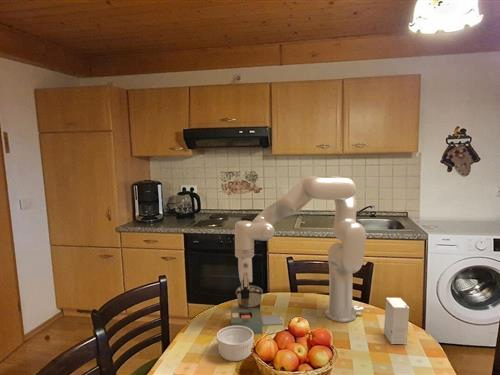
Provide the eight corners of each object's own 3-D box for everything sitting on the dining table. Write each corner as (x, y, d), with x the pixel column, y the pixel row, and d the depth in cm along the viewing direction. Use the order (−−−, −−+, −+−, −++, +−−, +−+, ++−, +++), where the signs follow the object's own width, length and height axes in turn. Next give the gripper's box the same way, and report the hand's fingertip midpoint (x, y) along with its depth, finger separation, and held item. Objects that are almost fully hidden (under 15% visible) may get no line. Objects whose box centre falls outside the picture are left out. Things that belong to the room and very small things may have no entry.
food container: (264, 306, 164) (263, 285, 162) (263, 312, 157) (263, 290, 156) (237, 305, 165) (237, 284, 164) (235, 311, 159) (235, 290, 158)
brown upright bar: (248, 305, 146) (248, 274, 144) (248, 309, 143) (248, 277, 141) (240, 306, 145) (240, 275, 144) (241, 309, 142) (241, 277, 141)
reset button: (250, 318, 147) (250, 314, 147) (251, 322, 143) (250, 319, 143) (241, 318, 146) (240, 315, 146) (241, 323, 143) (241, 319, 143)
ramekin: (212, 347, 130) (211, 329, 130) (245, 339, 135) (245, 322, 135) (224, 367, 118) (223, 348, 117) (260, 358, 123) (259, 339, 123)
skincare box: (383, 334, 138) (384, 296, 136) (399, 333, 138) (400, 296, 136) (391, 345, 129) (393, 306, 128) (408, 345, 129) (410, 306, 128)
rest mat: (279, 315, 154) (279, 314, 154) (282, 324, 146) (282, 323, 146) (260, 316, 153) (260, 315, 153) (263, 325, 146) (263, 324, 145)
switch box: (259, 318, 151) (259, 307, 151) (262, 333, 140) (262, 320, 139) (230, 320, 150) (230, 308, 150) (231, 335, 139) (231, 322, 138)
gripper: (255, 258, 134) (256, 305, 136) (252, 246, 150) (252, 288, 152) (235, 258, 133) (236, 306, 135) (234, 246, 149) (234, 289, 151)
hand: (244, 296), depth 144 cm, fingers closed on brown upright bar, 3 cm apart
